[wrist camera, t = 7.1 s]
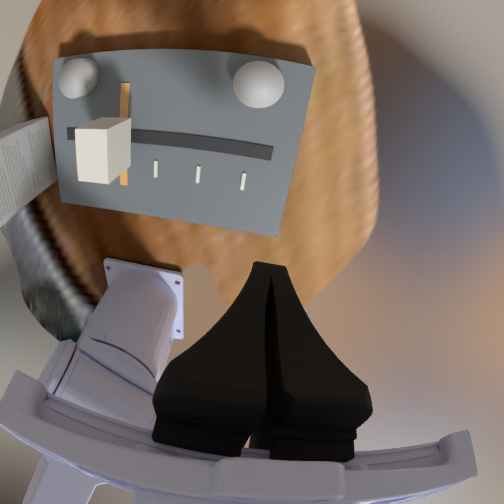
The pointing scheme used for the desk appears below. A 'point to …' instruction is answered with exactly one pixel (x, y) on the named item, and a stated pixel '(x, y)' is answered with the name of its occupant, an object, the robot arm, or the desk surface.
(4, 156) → the skincare box
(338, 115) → the desk surface
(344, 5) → the desk surface
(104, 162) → the fader tab
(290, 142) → the console
